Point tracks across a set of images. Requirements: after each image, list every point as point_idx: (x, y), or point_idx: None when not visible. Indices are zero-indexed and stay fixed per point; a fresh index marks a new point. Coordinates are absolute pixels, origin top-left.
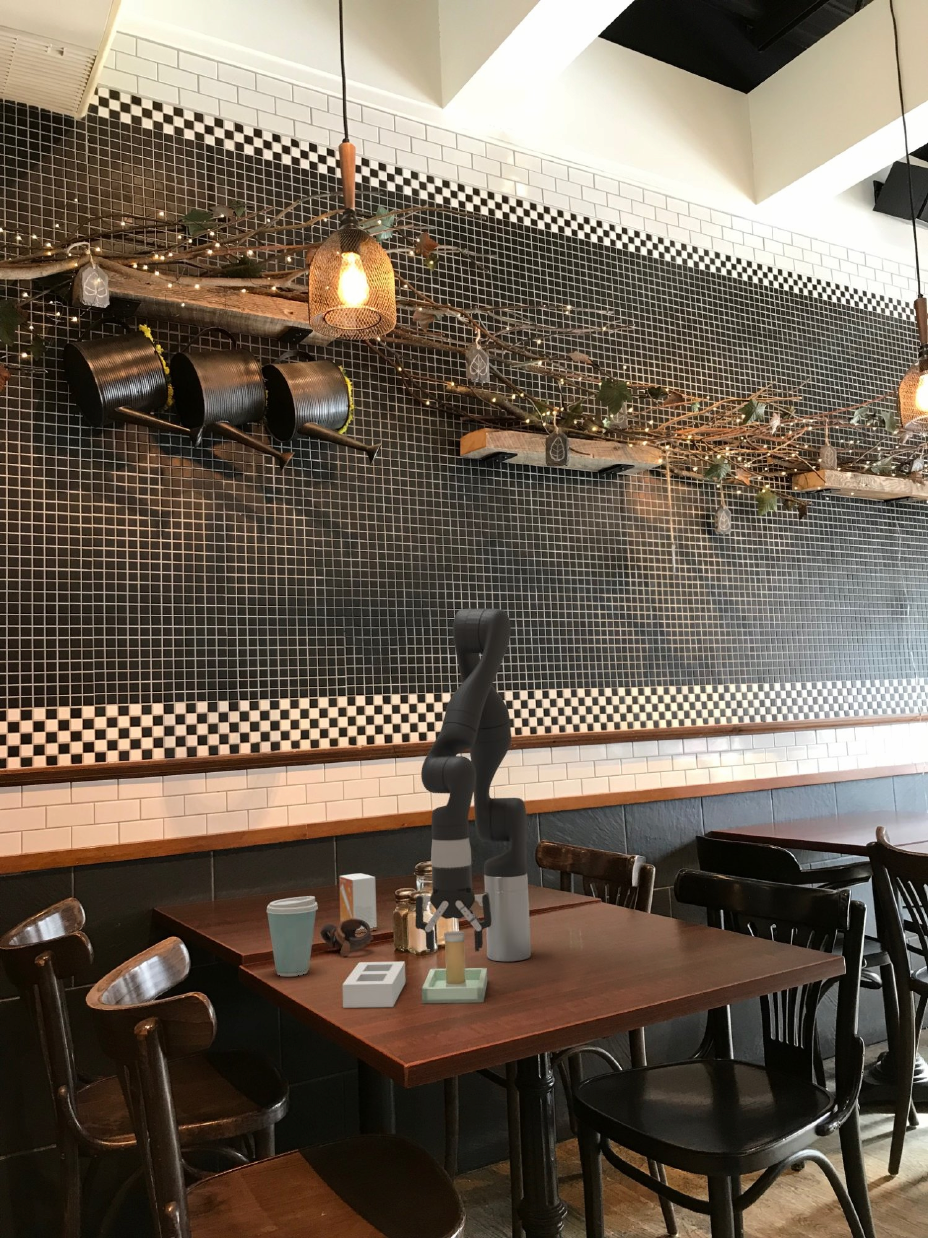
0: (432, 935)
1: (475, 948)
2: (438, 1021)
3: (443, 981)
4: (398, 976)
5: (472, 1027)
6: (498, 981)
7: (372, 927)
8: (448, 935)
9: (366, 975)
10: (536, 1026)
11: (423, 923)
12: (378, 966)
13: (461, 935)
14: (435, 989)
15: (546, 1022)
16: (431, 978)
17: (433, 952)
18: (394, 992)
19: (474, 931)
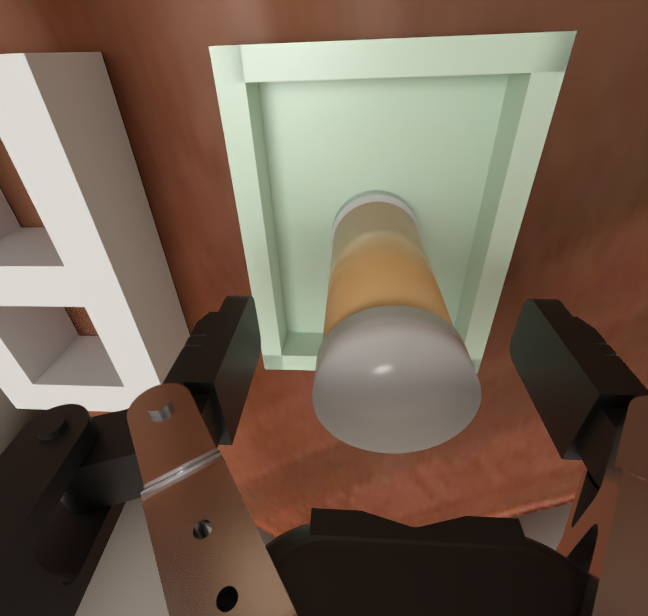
0: (233, 428)
1: (518, 367)
2: (343, 447)
3: (303, 106)
4: (132, 290)
5: (419, 476)
6: (605, 27)
7: None
8: (352, 445)
9: (4, 304)
10: (559, 482)
11: (124, 501)
12: None
13: (449, 434)
14: (311, 369)
15: None
16: (266, 249)
17: (260, 341)
18: (176, 356)
19: (566, 455)
